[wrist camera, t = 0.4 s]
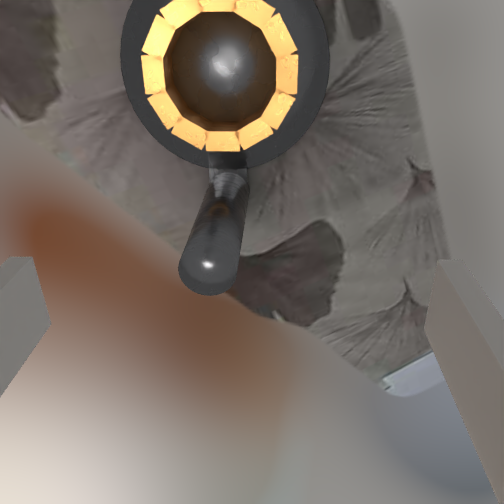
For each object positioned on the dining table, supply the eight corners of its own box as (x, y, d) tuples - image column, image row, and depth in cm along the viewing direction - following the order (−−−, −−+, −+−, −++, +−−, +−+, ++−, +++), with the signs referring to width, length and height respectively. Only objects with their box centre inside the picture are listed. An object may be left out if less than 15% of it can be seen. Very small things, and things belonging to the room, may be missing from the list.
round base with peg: (107, -53, 33) (4, -85, 20) (336, -57, 32) (372, -93, 20) (142, 207, 42) (85, 292, 30) (319, 209, 41) (336, 298, 29)
